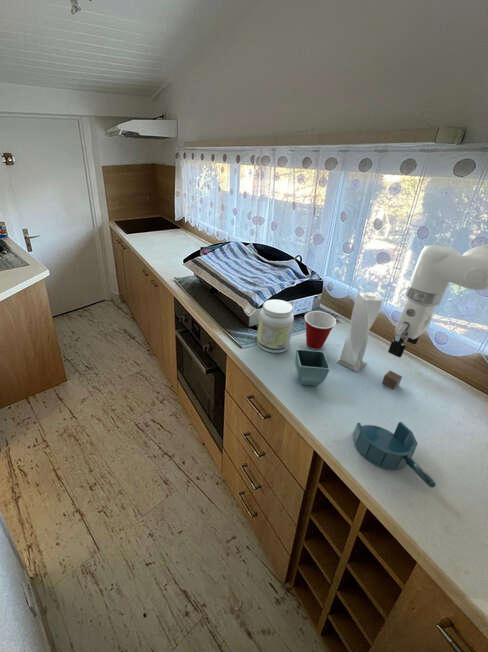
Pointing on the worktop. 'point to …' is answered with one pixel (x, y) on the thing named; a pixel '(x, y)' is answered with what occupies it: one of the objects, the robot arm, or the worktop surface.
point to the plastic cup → (318, 328)
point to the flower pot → (311, 367)
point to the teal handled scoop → (389, 448)
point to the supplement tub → (275, 326)
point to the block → (391, 380)
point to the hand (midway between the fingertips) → (402, 348)
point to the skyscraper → (360, 329)
